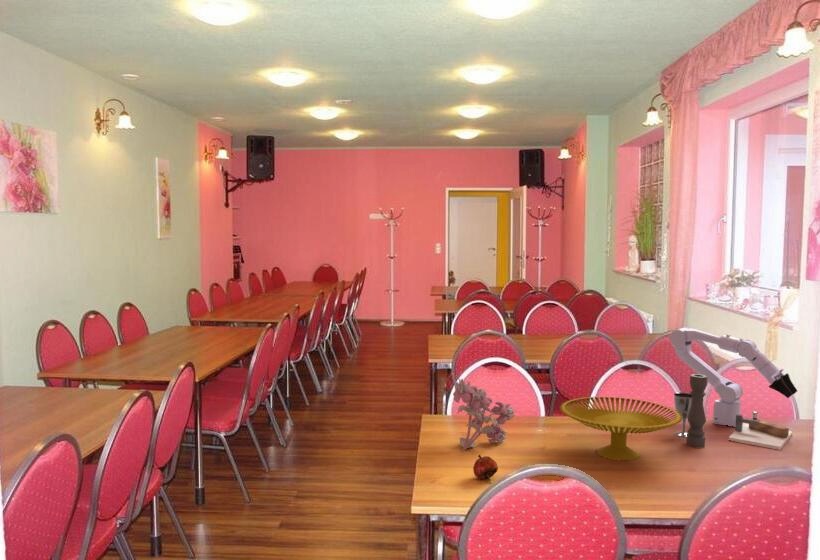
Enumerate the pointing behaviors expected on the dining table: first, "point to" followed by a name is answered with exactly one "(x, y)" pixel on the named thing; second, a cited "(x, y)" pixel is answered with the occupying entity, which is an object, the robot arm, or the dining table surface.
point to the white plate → (758, 438)
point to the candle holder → (697, 411)
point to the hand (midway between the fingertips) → (792, 394)
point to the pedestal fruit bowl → (620, 422)
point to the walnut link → (770, 428)
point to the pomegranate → (485, 467)
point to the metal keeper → (741, 420)
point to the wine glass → (682, 409)
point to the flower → (481, 413)
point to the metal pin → (755, 415)
